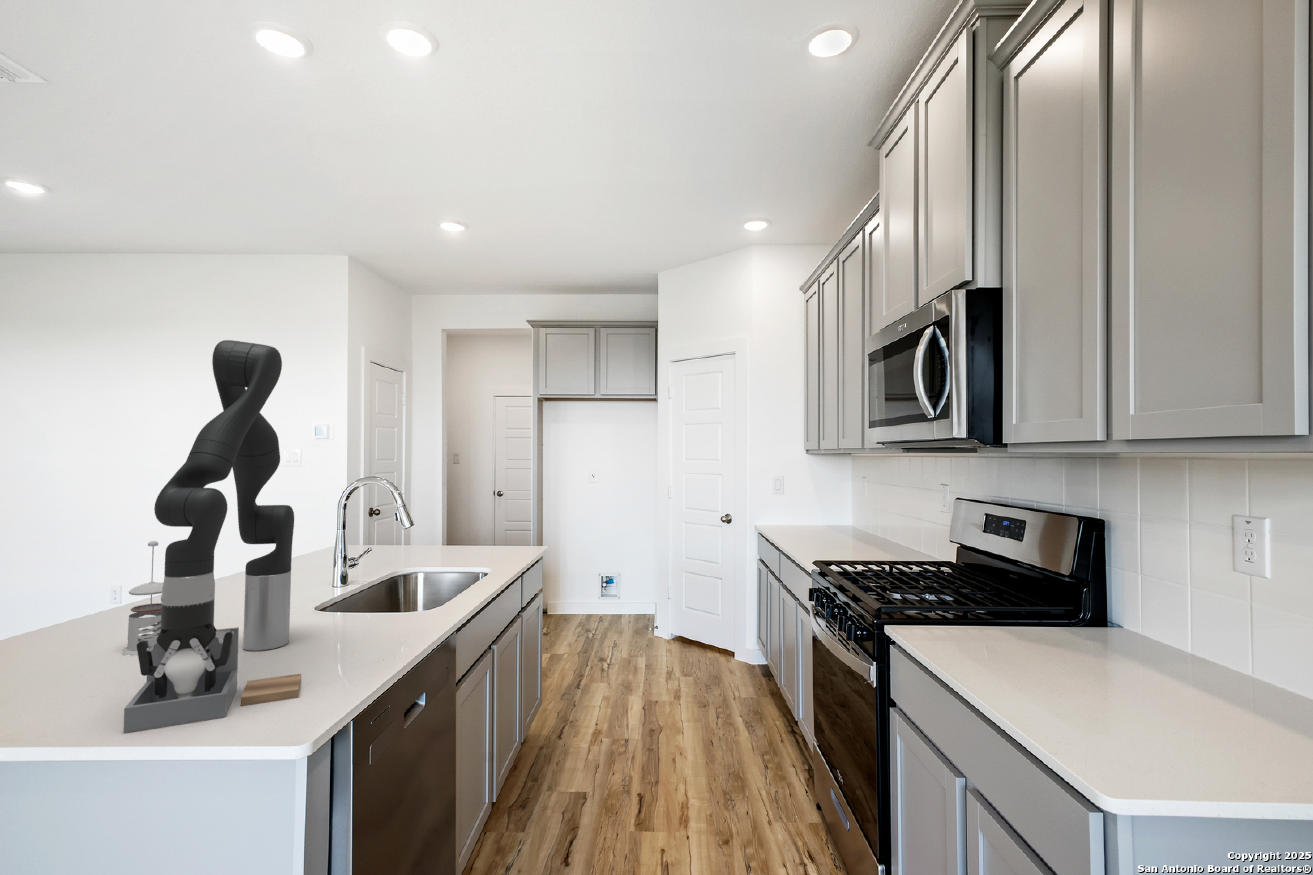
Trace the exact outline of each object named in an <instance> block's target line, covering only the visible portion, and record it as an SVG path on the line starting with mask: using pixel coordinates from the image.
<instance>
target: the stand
mask: <svg viewBox="0 0 1313 875" xmlns="http://www.w3.org/2000/svg"><path fill="white" fill-rule="evenodd" d="M301 681H302V673H296V674H288V675H282V676H273V677H266V678H259V679H258V678H257V679H252V680H247V681H246V684H245V686H244V688H243V691H242V693H241V695H240V704H239V705H240V707H243V706H250V705H257V704H263V703H271V702H277V701H282V700H289V699H290V698H291V699H296V698H299V694H300V690H301ZM291 699H290V700H291Z"/></svg>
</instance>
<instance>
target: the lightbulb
mask: <svg viewBox="0 0 1313 875" xmlns="http://www.w3.org/2000/svg"><path fill="white" fill-rule="evenodd" d="M205 665H206V661H205V660H203V659H202V658H201V656H200V655H199V654H197V653H196V652H195V650H194V649H182V650H179V651H176V652H175V654H174V655H173V656H172V657H171V658H170V659H169V661H168V662H167V664H166V665H165V666H164V672H165V675H166V676H167V678H168V679H169V680H170V681H171V682H172V683H173V686H174V690H175V692H176V696H177V697H176V699H183V698H190V697H195V695H194V694H195V689H196V687H197V685H198V681H199V679H200V677H201V676H202V674H203V673H204V672H205V670H206V667H205Z"/></svg>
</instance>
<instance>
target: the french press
mask: <svg viewBox="0 0 1313 875" xmlns="http://www.w3.org/2000/svg"><path fill="white" fill-rule="evenodd" d="M157 546H159V542H158V541H157V540H151V541H149V542H148V543H147V547H152V557H151V558H152V559H151V581H150V582H147V583H142V584H139V585H137V586H135V587H132V589H130V590H129V591H128V594H129V595H131V596H150V603H148V604H147V603H146V604H141V605H136V606H134V607H131V608H130V612H132V614H131V613H130V614H129V615H128V624H127V625H128V626H127V627H128V628H127V647H126V648H124V649H123V650H122V651H123V652H121V655H123V656H126V655H138V652H137V644H138V643H139V642H140V641H141V640H142V639H143V638H148V637H149V636H157V635H159V634H160V632H161V607H162V602H155V603H153V600H152V599H153V595H159V594H162V587H163V582H156V581H154V580H153V578H154V573H153V572H154V552H155V550H154V548H155V547H157ZM144 616H145V617H144ZM146 616H147V617H146ZM148 627H151V628H148ZM141 628H142V629H141ZM151 632H153V633H151ZM140 634H141V635H140Z"/></svg>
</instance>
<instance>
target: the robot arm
mask: <svg viewBox="0 0 1313 875" xmlns="http://www.w3.org/2000/svg"><path fill="white" fill-rule="evenodd" d="M211 362H212V363H211V364H212V371H213V372H212V373H213V377H214V380H215V384H216V388H217V392H218V395H219V399H220V403H221V406H222V410H223V411H222V412H220V413H219V414H218V415H216V416H215V417H213V418H212V419H211V420H210V421H208V422H207V423H206V424H204V426H203V427H202V428H201V430H199V432H198V434H197V436H196V437H195V440H194V442H193V444H192V447H191V449H190V451H189V453H188V455H187V458H186V461H185V462H184V464H182V465H181V466H180V468H179V469H178V470H177V471H176V472H175V474H174V475H173V476H172V477H171V478H170V479H169V481H168V482H167V483H166V484H165V485H164V486H163V487H162V489H161V490H160V492H159V493H158V495H157V497H156V500H155V502H154V515H155V518H156V519H157V521H158V522H159V523H160V524H162V525H164V526H166V527H175V528H176V527H178V528H180V527H184V528H186V527H187V528H191V531H190V532H189V535H188V537H187V538H186V539H179V540H175V541H173V542H170V543H169V544H168V545H167V546H166V548H165V554H164V555H165V556H164V578H163V582H162V583H163V587H162V593H161V596H160V603H162V607H161V632H160V634H159V636H158V637H155V638H150V639H148V638H143V639H142V640H141V641H140V642H139V643H138V644H137V652H138V656H137V658H138V662H139V663H138V664H139V668H140V674H141V676H142V677H143V676H144V677H145V676H146V677H147V675H150V676H153V677H154V678H155V691H154V693H155V695H156V696H157V695H159V699H160V698H165V696H166V694H167V676H166V675H165V672H164V666H165V665H166V664H167V662H168V661H169V659H170V658H171V657H172V656H173V655H174V654H175V652H176V651H179V650H182V649H194V650H195V652H196V653H197V654H199V655H200V656H201V658H202V659H203V660H205V661H206V665H205V667H206V669H207V670H206V672H205V692H209V691H210V690H211V688H213V687H214V685H215V683H216V669H217V668H218V667H220V666H224V665H226V663H227V661H228V660H229V656H230V651H231V646H232V641H233V637H234V630H233V629H229V630H228V631H217V628H216V627H215V595H216V594H215V593H216V591H215V590H216V588H215V587H216V582H215V572H214V570H215V568H214V567H215V550H216V546H217V543H218V540H219V537H220V534H221V531H222V528H223V525H224V523H225V519H226V517H227V513H228V501H227V499H226V497H225V494H224V493H223V492H222V491H221V490H220V489H217V488H213V487H206V486H207V485H210V484H214V483H218V482H222V481H225V480H226V479H227V478H228V477H229V475H230V473H231V472H233V478H234V484H235V489H236V490H235V491H236V500H237V502H236V503H237V519H238V520H237V522H238V524H237V525H238V532H239V536H240V539H241V541H242V542H243V543H245V544H248V545H272V544H273V545H275V547H274V549H273V550H272V551H271V552H268V553H267V554H265V555H262V556H260V557H257V558H253V559H251V560H249V561H248V562H246V564H245V571H244V572H245V576H244V579H245V580H244V612H243V613H244V614H243V635H242V639H243V640H242V648H243V650H247V651H255V652H256V651H267V650H272V649H277V648H281V647H284V646H286V645H288V644H289V642H290V627H291V626H290V622H291V620H290V619H291V591H292V589H291V588H292V582H291V581H292V556H293V540H294V539H293V538H294V529H295V512H294V510H293V508H292V506H290V504H289V505H288V504H266V505H265V504H263V505H262V504H261V505H260V504H259V505H258V503H257V502H256V500H257V497H258V496H259V494H260V492H261V491H262V490H263V488H264V486H265V485H266V484H267V483H268V482H269V481H270V480H271V478H272V477H273V475H274V474H276V471H277V470H278V468H279V466H280V463H281V452H280V443H279V442H280V441H279V437H278V434H277V432H276V431H275V429H274V427H273V426H272V425H271V423H270V422H269V421H268V420H267V419H266V417H264V415H263V414H262V413H261V410H262V409H263V407H264V406H265V404H266V402H267V400H268V399H269V398H270V395H271V394H272V392H273V391H274V389H275V387H276V385H277V384H278V382H279V379H280V377H281V374H282V368H283V361H282V355H281V353H280V351H279V350H278V349H277V348H276V347H273V346H272V345H271V346H270V345H267V344H260V343H255V342H247V341H241V340H232V339H225V340H221V341H220V342H218V343H217V344H215V347H214V350H213V352H212V361H211ZM231 470H232V471H231ZM215 637H217V638H218V639H219V643H221V644H223V645H222V650H221V655H220V658H218V659H215V658H214V656H213V654H212V651H211V649H210V647H209V646H208V645H209V644H210V642H211V641H212V640H213V639H214V638H215ZM156 643H158V644H159V645H160V646H161V647H162V648H163V650H164V651H165V652H166V654H165V656H164V657H163V659H162V661H161V662H160V664H159V666H153V660H152V654H151V651H152V650H153V649H154V648H155V644H156Z"/></svg>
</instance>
